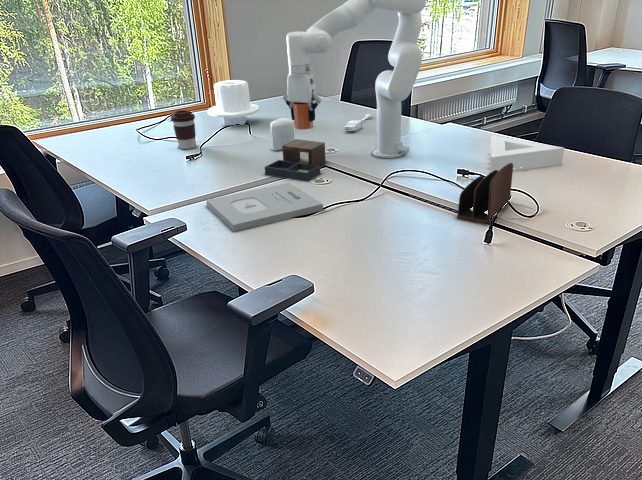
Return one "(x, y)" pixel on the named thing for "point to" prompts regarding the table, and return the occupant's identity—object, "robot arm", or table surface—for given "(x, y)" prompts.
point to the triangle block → (522, 154)
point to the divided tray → (292, 170)
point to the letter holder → (486, 196)
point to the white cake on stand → (232, 102)
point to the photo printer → (281, 132)
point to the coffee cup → (184, 128)
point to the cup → (301, 116)
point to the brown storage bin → (311, 147)
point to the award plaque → (263, 206)
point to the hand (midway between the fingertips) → (303, 119)
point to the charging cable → (355, 124)
